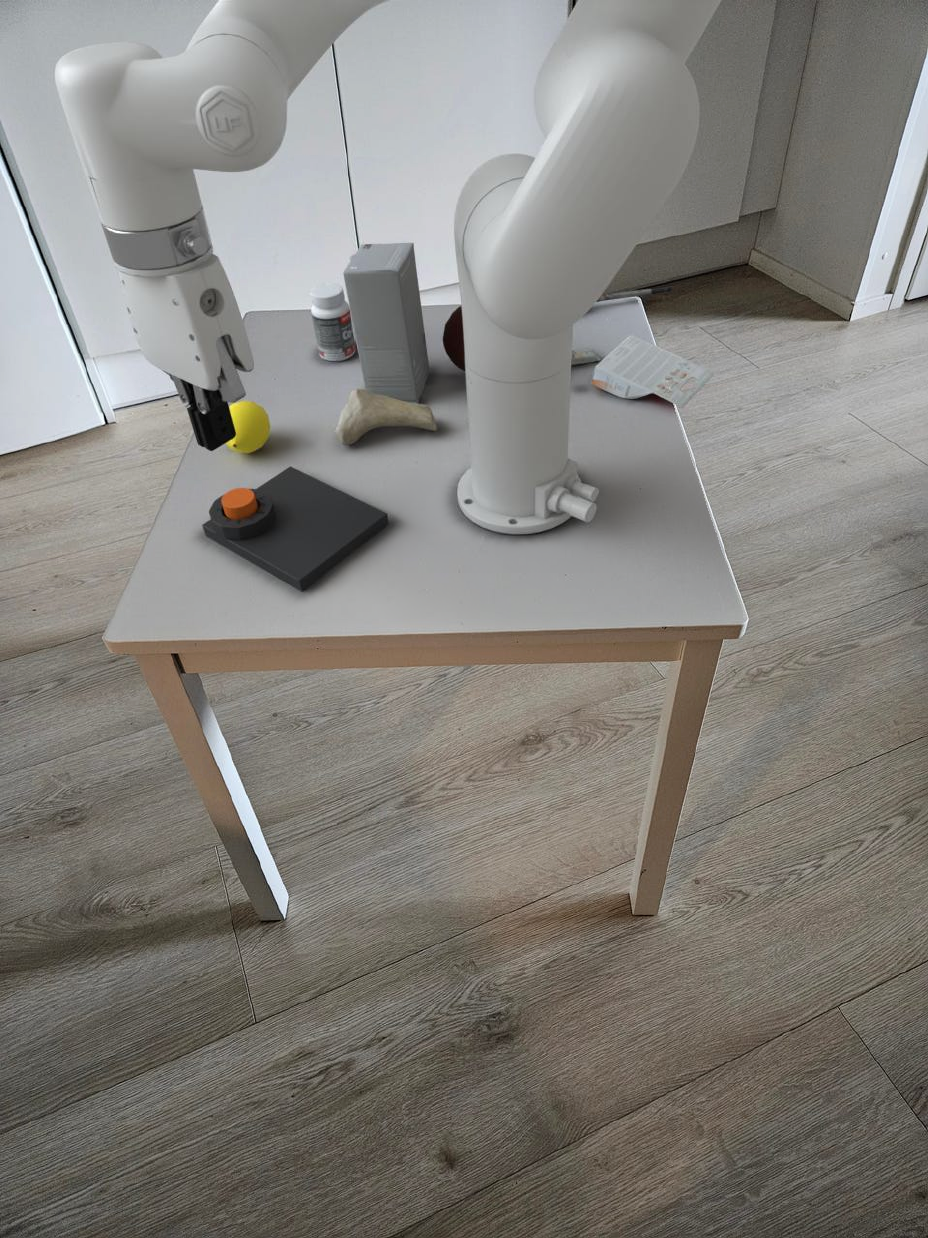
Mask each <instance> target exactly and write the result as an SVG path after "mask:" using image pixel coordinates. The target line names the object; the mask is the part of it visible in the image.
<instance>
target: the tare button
mask: <svg viewBox="0 0 928 1238" xmlns="http://www.w3.org/2000/svg"><path fill="white" fill-rule="evenodd" d="M250 489H251V488H247V487H237V488H233V489H231V490H229V491H226V492H225V493H224V494H223V495H224V496H223V497H222V500H221V502H222V505H223V508H224V512H225V515H226V516H227V517H228V518H229V519H234V520H240V519H244V518H248V517H250V516H252V515H253V514H255V513H256V512H257V509H258V505H257V502H256V498H255V495H254V492H253V491H252V490H250Z"/></svg>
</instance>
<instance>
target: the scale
mask: <svg viewBox="0 0 928 1238" xmlns="http://www.w3.org/2000/svg"><path fill="white" fill-rule="evenodd" d="M249 489H250V490H252V491H253V492H254V495H255V498H256V502H257V505H258V509H257V512H256V513H255V514H253V515H252V516H250V517H248V518H244V519H240V520H234V519H229V518H228V517H227V516H226V515H225V512H224V508H223V505H222V502H221V500H222V497H223V496H224V494H222V495H221V496H219V497H217V498H216V499H215V500H214V501H213V503H212V504H211V506H210V507H209V510H208V515H209V519H208V520H207V521H205V522H204V523H203V524H201V527H202V529H203V533H204V536H205V537H207V538H209V539H211V540H212V541H214V542H216V543H217V544H219V545H221V546H223V547H224V548H226V549H228V550H230V551H231V552H233V553H234V554H236V555H238V556H239V557H242V558H243V559H245V560H247V561H248V562H250V563H252V564H254V565H255V566H257V567H259V568H260V569H262V570H264V571H265V572H267V573H269V574H271V575H273V576H274V577H276V578H277V579H279V580H281V581H283V582H285V583H286V584H288V585H290V586H291V587H293V588H295V589H297V590H298V591H300V592H304V591H305V590H306V589H308V588H309V587H310V586H312V584H314V583H316V581H318V580H319V579H320V578H322V577H323V576H324V575H325V574H326V573H328V572H330V571H331V570H332V569H333V568H334V567H336V566H337V565H339V564H340V563H341V562H342V561H344V560H345V559H346V558H347V557H349V556H350V555H351V554H353V553H354V552H355V551H357V550H358V549H359V548H360V547H362V546H363V545H364V544H365V543H367V542H368V541H369V540H371V539H372V538H373V537H374V536H376V535H377V534H378V533H380V532H381V531H382V530H384V529H385V528H386V527H388V526H389V525H390V523H389V515H388V513H387V512H386V511H383V510H381V509H380V508H377V507H376V506H373V505H371V504H369V503H367V502H365V501H363V500H361V499H359V498H356V497H354V496H353V495H350V494H348V493H346V492H345V491H342V490H340V489H338V488H336V487H334V486H332V485H330V484H327V483H326V482H324V481H322V480H319V479H317V478H316V477H313V476H312V475H309V474H307V473H305V472H303V471H301V470H299V469H297V468H296V467H293V466H288V467H286V468H285V469H284V470H282V471H281V472H279V473H278V474H277V475H275V476H273V477H272V478H270V479H269V480H268V481H266V482H265V483H263V484H262V485H260V486H258V487H257V488H249Z"/></svg>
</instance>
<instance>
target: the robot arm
mask: <svg viewBox="0 0 928 1238" xmlns="http://www.w3.org/2000/svg"><path fill="white" fill-rule="evenodd" d="M389 1H390V0H218V1H216V3H215V5H214V6H213V7H212V9H211V10H210V11H209V13H208V14H207V15H206V17H205V18H204V19H203V20H202V22H201V23H200V25H199V27H198V28H197V29H196V31H195V32H194V34H193V36H192V38H191V39H190V41H189V42H188V45H187V47H186V49H185V51H183V52H182V53H179V54H178V55H173V56H168V57H163V56H162V55H161V54H160V53H159V51H157V50H156V49H155V48H154V47H152V46H150V45H147V44H143V43H139V42H133V41H115V42H104V43H103V42H102V43H96V44H92V45H87V46H82V47H79V48H76V49H72V50H70V51H69V52H66V54H64V55H62V56H61V57H60V58H59V60H58V61H57V63H55V68H54V82H55V83H54V84H55V87H56V90H57V94H58V97H59V101H60V103H61V107H62V110H63V112H64V116H65V118H66V121H67V125H68V128H69V130H70V134H71V137H72V139H73V143H74V146H75V149H76V152H77V155H78V157H79V160H80V165H81V166H82V171H83V174H84V176H85V179H86V182H87V185H88V187H89V191H90V193H91V196H92V199H93V203H94V205H95V208H96V211H97V215H98V218H99V220H100V224H101V227H102V231H103V233H104V236H105V240H106V242H107V245H108V249H109V252H110V255H111V257H112V261H113V264H114V266H115V269H116V270H117V272H118V277H119V281H120V285H121V290H122V294H123V298H124V302H125V306H126V309H127V313H128V316H129V320H130V324H131V326H132V330H133V332H134V336H135V337H136V341H137V344H138V346H139V348H140V351H141V353H142V355H143V357H144V359H145V360H146V361H147V362H148V363H150V364H151V365H152V366H154V367H156V368H158V369H159V370H161V371H162V372H163V373H165V374H166V375H168V376H169V378H170V380H171V381H172V382H173V384H174V386H175V389H176V392H177V393H178V397H179V399H180V401H181V402H182V404H183V405H184V406H186V407H187V408H186V410H187V414H188V418H189V420H190V424H191V427H192V430H193V434H194V437H195V440H196V444H197V445H198V446H200V447H201V448H205V449H206V450H208V451H210V452H214V451H215V450H217V449H218V448H220V447H221V446H223V445H226V444H225V443H227V442H228V441H230V440H232V439H233V438H235V436H236V431H235V427H234V424H233V420H232V416H231V413H230V409H229V407H230V406H229V403H232V404H234V403H237V402H239V401H240V400H241V399H243V398H245V397H246V396H247V394H246V393H247V392H246V391H245V388H244V385H243V382H242V380H241V377H240V375H239V373H238V371H241V372H245V373H250V372H252V371H254V368H255V361H254V357H253V352H252V347H251V345H250V340H249V337H248V335H247V330H246V327H245V324H244V321H243V317H242V314H241V311H240V308H239V304H238V302H237V299H236V296H235V293H234V291H233V287H232V284H231V283H230V280H229V277H228V275H227V273H226V271H225V268H224V266H223V265H222V262H221V260H220V258H219V256H218V255H216V254H215V253H214V246H213V243H212V238H211V234H210V230H209V226H208V222H207V218H206V214H205V210H204V206H203V204H202V200H201V195H200V191H199V187H198V183H197V178H196V175H195V170H200V171H210V172H218V173H243V172H249V171H253V170H255V169H258V168H260V167H262V166H264V165H265V164H267V163H268V162H269V161H270V160H271V159H273V158H274V156H276V154H277V153H278V151H280V148H281V146H282V144H283V141H284V138H285V136H286V131H287V124H288V101H289V98H290V97H291V96H292V94H293V93H294V92H295V91H296V89H297V88H298V87H299V86H300V85H301V83H302V82H303V80H304V79H305V78H306V76H307V75H308V74H309V73H310V72H311V71H312V69H313V68H314V67H315V65H316V64H317V63H318V62H319V61H320V59H322V57H323V56H324V55H325V54H326V52H327V51H328V50H329V49H330V48H331V46H332V45H334V43H335V42H336V41H337V40H338V39H339V38H340V36H341V35H343V33H344V32H345V31H346V30H347V29H348V28H349V27H350V26H351V25H353V24H354V23H355V22H356V21H357V20H358V19H360V17H362V16H363V15H364V14H365V13H367V12H368V11H370V10H372V9H374V8H375V7H377V6H379V5H381V4H384V3H386V2H389ZM722 1H723V0H577V1H576V3H575V5H574V7H573V9H572V11H571V12H570V14H569V16H568V17H567V20H566V21H565V23H564V25H563V27H562V28H561V30H560V31H559V33H558V35H557V37H556V38H555V40H554V42H553V43H552V45H551V47H550V49H549V51H548V52H547V54H546V56H545V58H544V59H543V61H542V64H541V65H540V67H539V69H538V72H537V76H536V80H535V84H534V89H533V108H534V113H535V117H536V121H537V123H538V126H539V127H540V128H539V129H540V131H541V132H542V134H543V137H544V138H545V140H544V142H543V144H542V145H541V146H540V149H539V151H538V153H537V155H536V156H531V155H528V154H524V153H506V154H505V153H504V154H500V155H498V156H495V157H492V158H490V159H488V160H487V161H485V162H484V163H482V164H481V165H479V167H477V168H476V169H475V170H473V172H472V173H471V175H470V176H469V177H468V178H467V180H466V182H465V183H464V184H463V186H462V189H461V190H460V193H459V196H458V198H457V202H456V206H455V211H454V217H453V235H454V236H453V239H454V250H455V251H454V252H455V259H456V268H457V276H458V285H459V294H460V295H459V296H460V306H462V318H463V332H464V348H465V371H466V372H465V387H466V402H467V404H466V405H467V420H468V421H467V423H468V438H469V454H470V467H469V468H468V469H467V470H466V471H465V472H464V473H463V475H462V476H461V477H460V479H459V482H458V484H457V490H456V491H457V492H456V495H457V502H458V505H459V508H460V510H461V511H462V513H463V515H464V516H465V517H466V518H467V519H469V520H470V521H471V522H472V523H474V524H476V525H477V526H480V528H483V529H486V530H489V531H491V532H495V533H499V534H507V535H530V534H536V533H541V532H544V531H548V530H552V529H554V528H555V527H558V526H560V525H562V524H563V523H565V522H567V521H568V520H569V519H571V518H572V517H573V518H575V519H578V520H580V521H582V522H584V523H590V522H591V521H592V520H593V519H594V517H595V515H596V513H597V504H596V503H595V501H596V500H597V498H598V496H599V488H597V487H595V486H592V485H590V484H587V483H583V482H582V479H581V478H580V476H579V474H578V462H577V461H575V460H572V459H570V458H569V439H570V437H569V434H570V409H571V408H570V407H571V382H572V381H571V378H572V377H571V376H572V365H571V359H572V350H573V341H574V339H573V337H574V336H573V335H574V324H576V323H577V322H578V321H579V320H581V319H582V318H583V317H584V316H585V315H586V314H587V313H588V312H589V310H590V309H592V307H593V306H594V305H595V304H596V303H597V302H596V301H597V300H598V299H599V297H600V296H601V295H603V293H604V292H605V291H606V289H607V288H608V286H609V285H610V284H611V282H612V281H613V280H614V278H615V276H616V275H617V274H618V272H619V271H620V269H621V268H622V266H623V265H624V264H625V262H626V261H627V260H628V258H629V256H630V255H631V253H632V252H633V251H634V250H635V248H636V246H637V245H638V244H639V242H640V240H641V239H642V238H643V236H644V235H645V234H646V232H647V231H648V229H649V227H650V226H651V224H652V223H653V222H654V220H655V219H656V218H657V216H658V214H659V213H660V211H662V209H663V207H664V205H665V204H666V203H667V201H668V200H669V198H670V197H671V195H672V193H674V190H675V189H676V187H677V186H678V185H679V182H680V181H681V179H682V177H683V175H684V173H685V171H686V169H687V167H688V164H689V162H690V159H691V156H692V154H693V152H694V149H695V144H696V141H697V138H698V132H699V127H700V116H701V115H700V108H701V107H700V99H699V94H698V89H697V85H696V83H695V80H694V78H693V76H692V74H691V72H690V70H689V68H688V66H687V65H686V62H687V60H688V59H689V57H690V55H691V54H692V52H693V50H694V49H695V47H696V45H697V44H698V42H699V41H700V39H701V37H702V35H703V34H704V32H705V30H706V29H707V27H708V25H709V23H710V22H711V20H712V18H713V16H714V15H715V12H716V11H717V9H718V7H719V6H720V4H721V3H722Z"/></svg>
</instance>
